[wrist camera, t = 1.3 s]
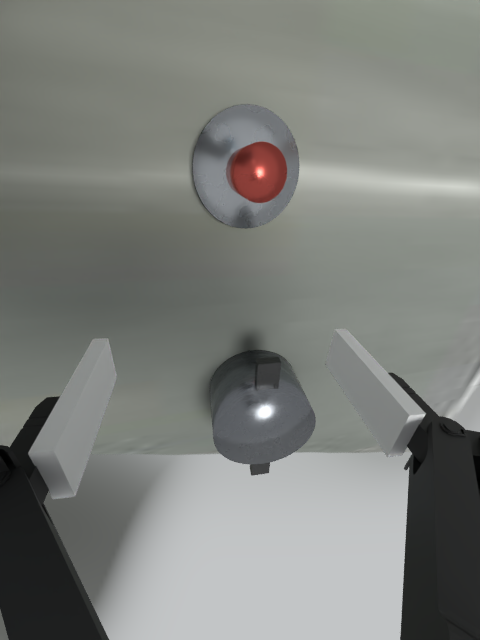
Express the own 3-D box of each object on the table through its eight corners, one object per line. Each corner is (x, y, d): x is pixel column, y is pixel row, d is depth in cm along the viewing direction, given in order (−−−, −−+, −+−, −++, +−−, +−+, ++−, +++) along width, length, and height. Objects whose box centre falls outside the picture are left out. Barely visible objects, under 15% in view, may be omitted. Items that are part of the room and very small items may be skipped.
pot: (206, 331, 37) (210, 373, 30) (302, 324, 39) (329, 362, 32) (212, 434, 48) (215, 486, 40) (287, 425, 50) (304, 473, 42)
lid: (188, 104, 25) (186, 80, 18) (300, 110, 27) (337, 90, 20) (196, 226, 31) (196, 243, 24) (288, 225, 32) (314, 241, 25)
